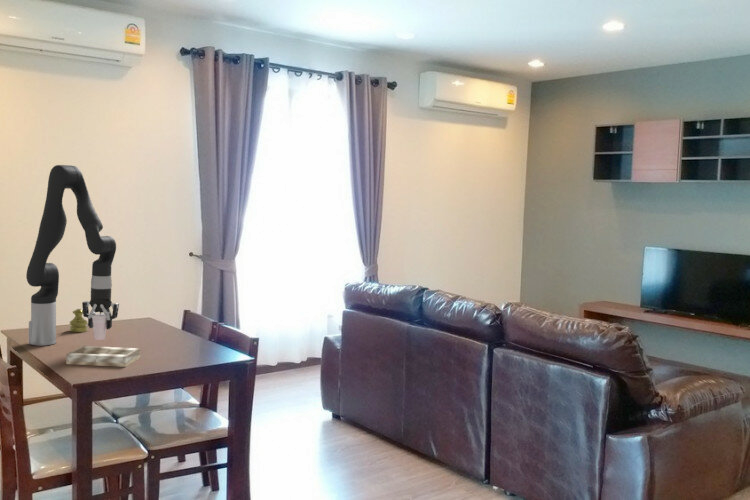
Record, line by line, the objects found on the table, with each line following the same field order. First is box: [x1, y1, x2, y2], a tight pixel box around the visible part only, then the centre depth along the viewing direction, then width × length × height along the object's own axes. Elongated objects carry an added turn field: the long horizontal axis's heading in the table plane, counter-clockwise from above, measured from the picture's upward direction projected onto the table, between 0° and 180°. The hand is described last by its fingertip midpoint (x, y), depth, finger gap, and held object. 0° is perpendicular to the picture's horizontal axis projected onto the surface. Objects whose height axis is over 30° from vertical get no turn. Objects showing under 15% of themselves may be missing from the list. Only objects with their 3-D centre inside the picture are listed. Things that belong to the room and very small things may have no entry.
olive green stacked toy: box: [69, 308, 88, 333], centre depth 304 cm, size 7×7×10 cm
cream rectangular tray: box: [65, 345, 141, 368], centre depth 254 cm, size 22×14×4 cm, turn 89°
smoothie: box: [92, 312, 108, 341], centre depth 266 cm, size 6×6×14 cm
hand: (99, 328), depth 267 cm, fingers closed on smoothie, 6 cm apart
